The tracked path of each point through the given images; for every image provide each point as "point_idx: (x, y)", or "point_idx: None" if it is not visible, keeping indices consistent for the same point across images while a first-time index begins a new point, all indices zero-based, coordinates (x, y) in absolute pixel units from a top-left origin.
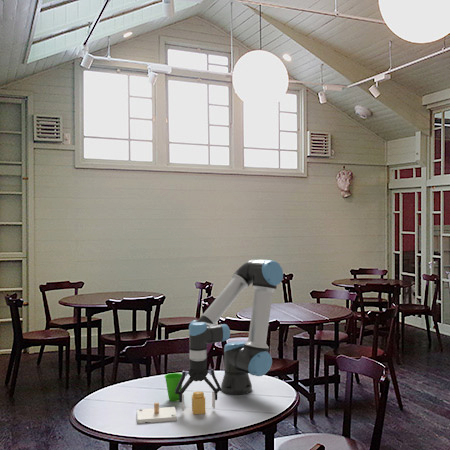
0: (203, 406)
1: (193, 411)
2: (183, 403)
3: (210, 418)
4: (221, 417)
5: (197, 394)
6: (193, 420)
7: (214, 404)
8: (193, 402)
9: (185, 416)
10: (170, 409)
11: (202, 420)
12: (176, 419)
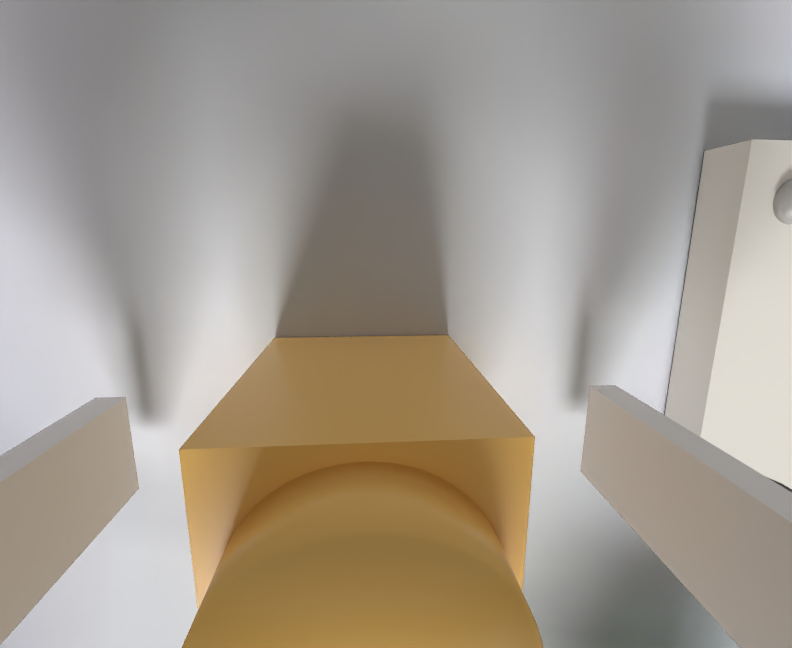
0: (282, 369)
1: (453, 345)
2: (676, 436)
3: (210, 120)
4: (23, 123)
5: (415, 577)
6: (479, 97)
7: (55, 429)
8: (495, 400)
9: (561, 283)
10: (757, 457)
11: (344, 62)
12: (721, 147)
